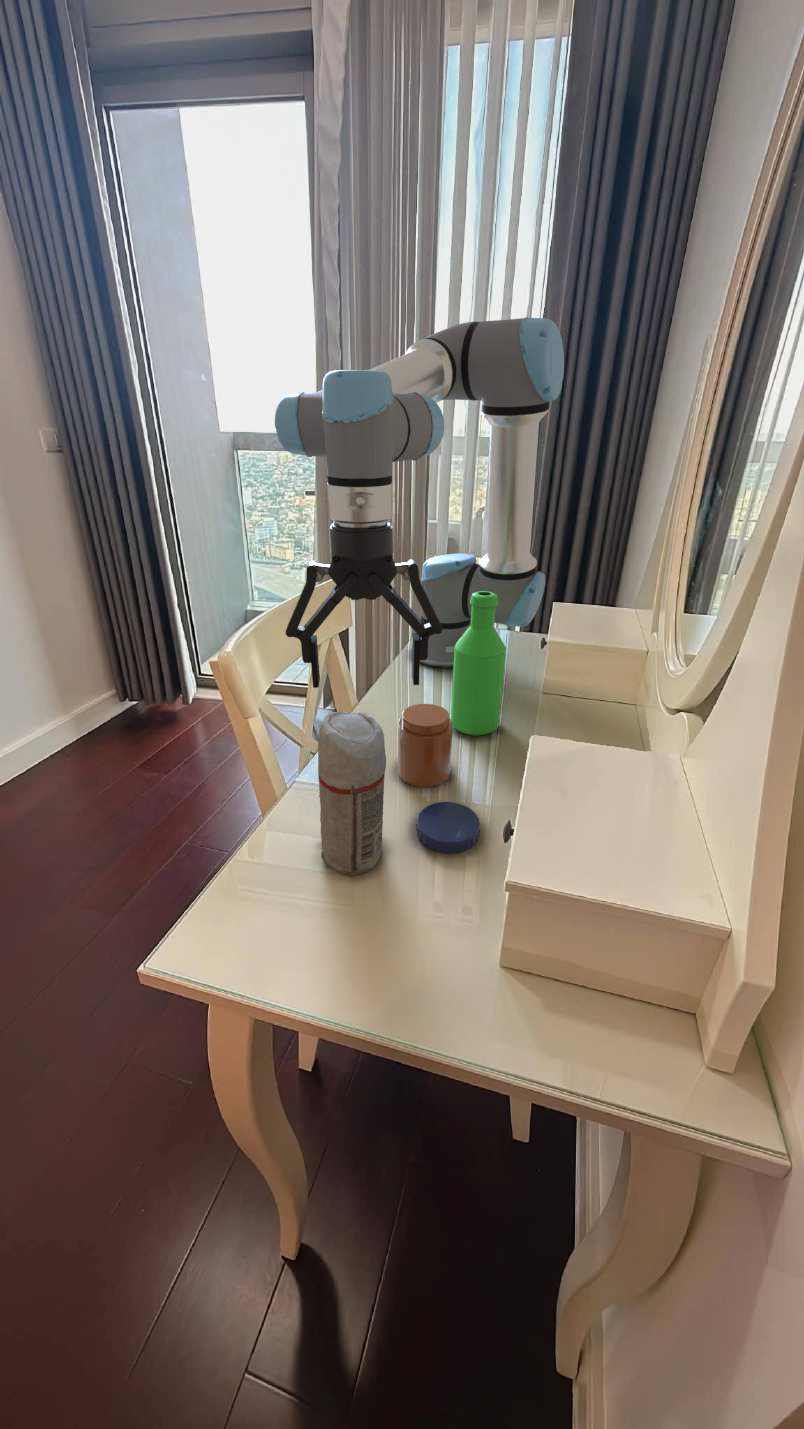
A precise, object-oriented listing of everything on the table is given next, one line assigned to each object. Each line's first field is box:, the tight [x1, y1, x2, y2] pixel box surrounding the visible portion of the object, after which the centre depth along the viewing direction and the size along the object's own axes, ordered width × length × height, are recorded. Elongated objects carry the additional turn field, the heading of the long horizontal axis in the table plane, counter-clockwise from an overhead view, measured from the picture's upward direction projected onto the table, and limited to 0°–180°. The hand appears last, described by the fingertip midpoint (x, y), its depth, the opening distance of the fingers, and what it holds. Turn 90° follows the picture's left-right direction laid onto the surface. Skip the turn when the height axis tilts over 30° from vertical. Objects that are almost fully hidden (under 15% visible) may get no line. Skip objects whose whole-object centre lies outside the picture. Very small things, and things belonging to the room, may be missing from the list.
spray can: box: [317, 710, 387, 876], centre depth 70 cm, size 8×8×20 cm
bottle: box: [450, 591, 507, 737], centre depth 98 cm, size 9×9×25 cm
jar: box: [397, 703, 454, 788], centre depth 88 cm, size 8×8×11 cm
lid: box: [415, 801, 481, 854], centre depth 78 cm, size 9×9×2 cm
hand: (366, 682), depth 78 cm, fingers open, 13 cm apart
